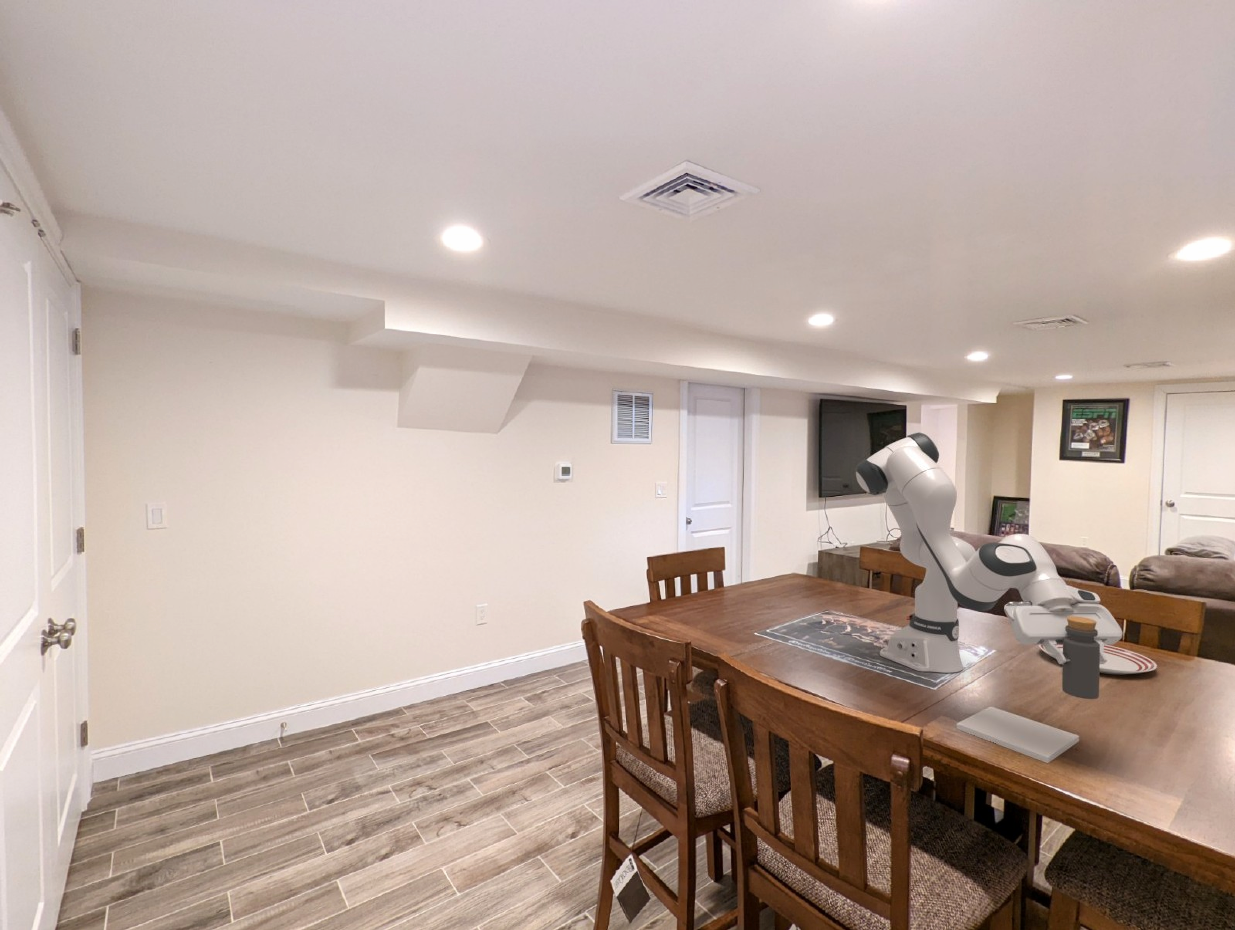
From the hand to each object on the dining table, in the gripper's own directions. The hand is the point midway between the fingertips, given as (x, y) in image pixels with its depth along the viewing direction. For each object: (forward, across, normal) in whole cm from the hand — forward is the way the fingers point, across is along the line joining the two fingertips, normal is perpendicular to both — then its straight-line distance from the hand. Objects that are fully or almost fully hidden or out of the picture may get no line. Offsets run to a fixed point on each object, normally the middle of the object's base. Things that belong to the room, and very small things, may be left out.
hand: (1083, 663), depth 118 cm
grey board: (+5, -4, +25) cm, 26 cm away
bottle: (+4, 0, +5) cm, 7 cm away
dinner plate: (-26, +47, +57) cm, 78 cm away
